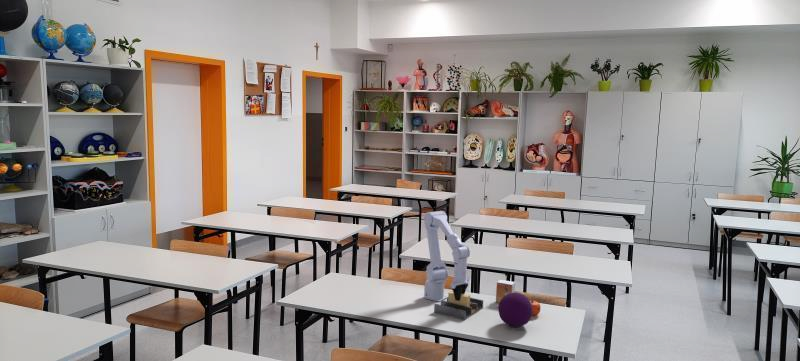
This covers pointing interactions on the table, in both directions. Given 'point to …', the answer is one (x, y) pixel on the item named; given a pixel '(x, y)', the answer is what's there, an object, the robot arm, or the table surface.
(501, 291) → the small box
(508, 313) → the toy ball
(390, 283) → the table surface
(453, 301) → the tan rectangular block
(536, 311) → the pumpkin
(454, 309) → the rack
